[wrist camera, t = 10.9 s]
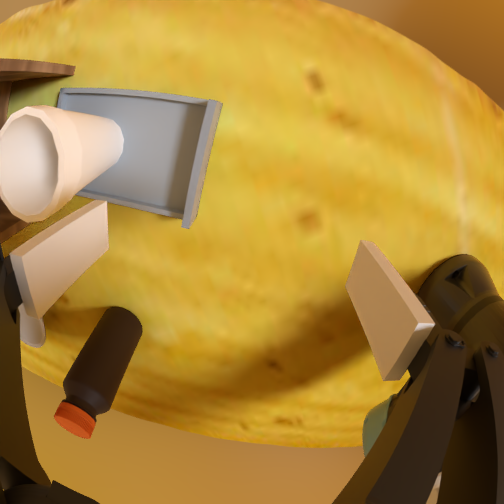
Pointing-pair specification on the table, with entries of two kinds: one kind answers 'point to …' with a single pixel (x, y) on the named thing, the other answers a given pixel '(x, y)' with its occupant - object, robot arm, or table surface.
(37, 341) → the dish
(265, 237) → the table surface
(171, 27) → the table surface
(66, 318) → the table surface
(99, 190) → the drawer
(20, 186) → the foam cup
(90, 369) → the bottle
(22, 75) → the wood grain box
